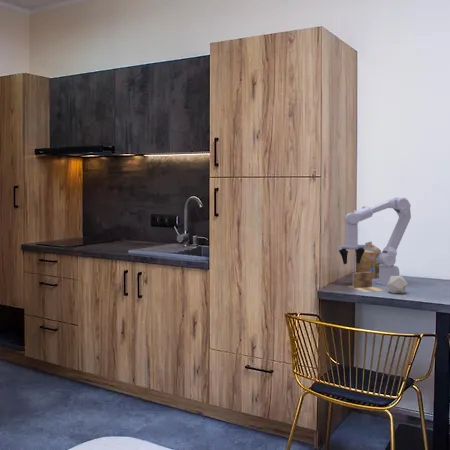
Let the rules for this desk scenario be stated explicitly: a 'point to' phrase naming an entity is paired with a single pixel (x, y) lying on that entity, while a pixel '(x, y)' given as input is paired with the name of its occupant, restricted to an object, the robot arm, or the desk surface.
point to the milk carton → (369, 260)
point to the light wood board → (368, 289)
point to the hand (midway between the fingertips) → (351, 263)
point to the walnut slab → (362, 279)
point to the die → (397, 284)
